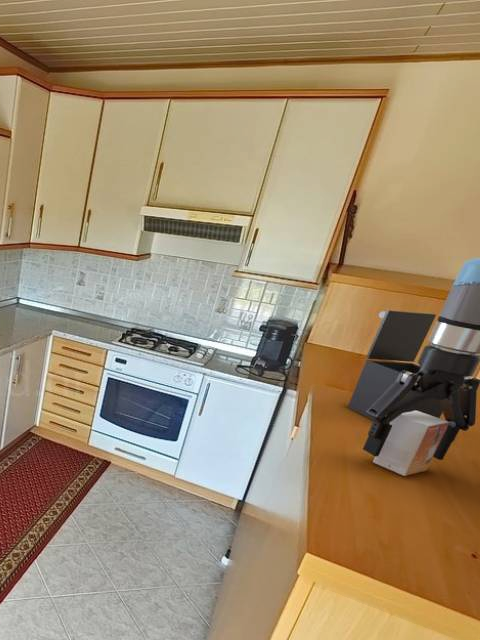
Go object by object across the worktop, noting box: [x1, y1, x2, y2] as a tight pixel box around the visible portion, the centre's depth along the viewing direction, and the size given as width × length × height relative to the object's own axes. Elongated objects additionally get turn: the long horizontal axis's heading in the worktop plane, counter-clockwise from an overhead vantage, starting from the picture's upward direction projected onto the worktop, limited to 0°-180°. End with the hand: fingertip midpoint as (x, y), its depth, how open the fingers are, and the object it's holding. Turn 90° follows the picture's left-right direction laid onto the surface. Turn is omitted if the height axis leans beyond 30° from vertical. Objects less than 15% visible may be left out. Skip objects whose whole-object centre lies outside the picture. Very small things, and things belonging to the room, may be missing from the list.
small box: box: [372, 410, 450, 477], centre depth 92 cm, size 8×6×10 cm
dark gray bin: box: [347, 359, 443, 424], centre depth 117 cm, size 11×12×13 cm
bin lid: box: [366, 309, 437, 363], centre depth 120 cm, size 12×12×6 cm
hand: (402, 454), depth 93 cm, fingers open, 13 cm apart
